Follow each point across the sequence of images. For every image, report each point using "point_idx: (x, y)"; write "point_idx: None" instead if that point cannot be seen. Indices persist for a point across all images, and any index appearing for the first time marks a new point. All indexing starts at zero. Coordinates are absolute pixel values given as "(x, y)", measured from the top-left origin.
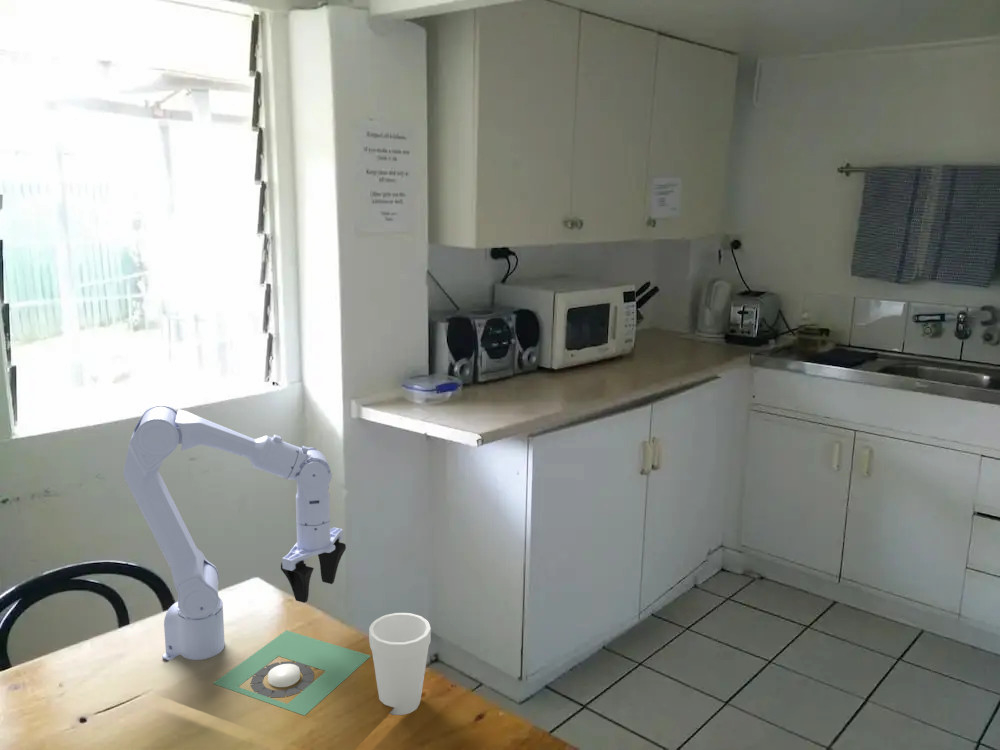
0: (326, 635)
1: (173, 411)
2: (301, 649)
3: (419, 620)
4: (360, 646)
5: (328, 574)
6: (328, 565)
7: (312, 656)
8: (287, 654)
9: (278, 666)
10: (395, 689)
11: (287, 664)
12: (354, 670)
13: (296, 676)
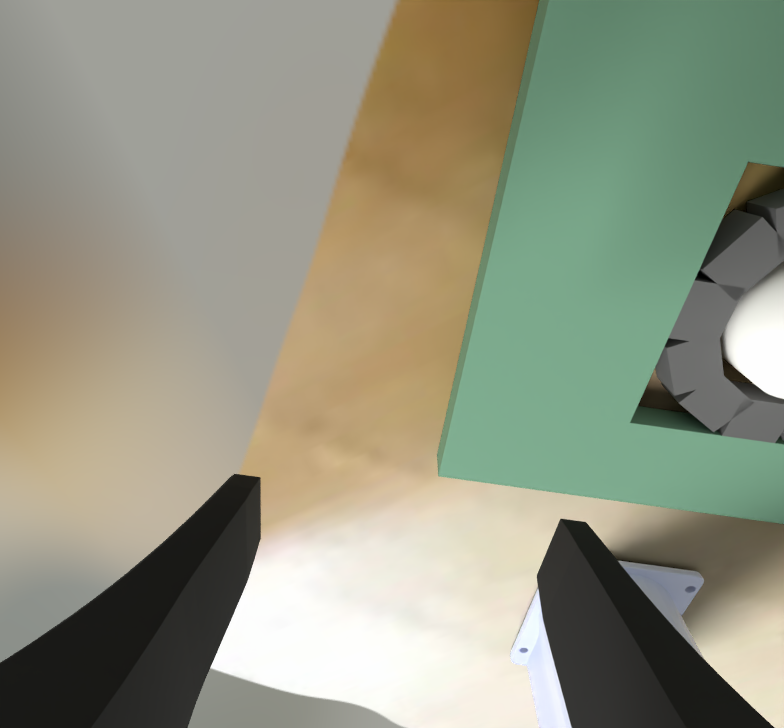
0: (367, 330)
1: None
2: (565, 363)
3: None
4: (398, 129)
5: (232, 559)
6: (189, 643)
7: (617, 292)
8: (614, 396)
9: (767, 383)
10: None
11: (754, 355)
12: None
13: None
